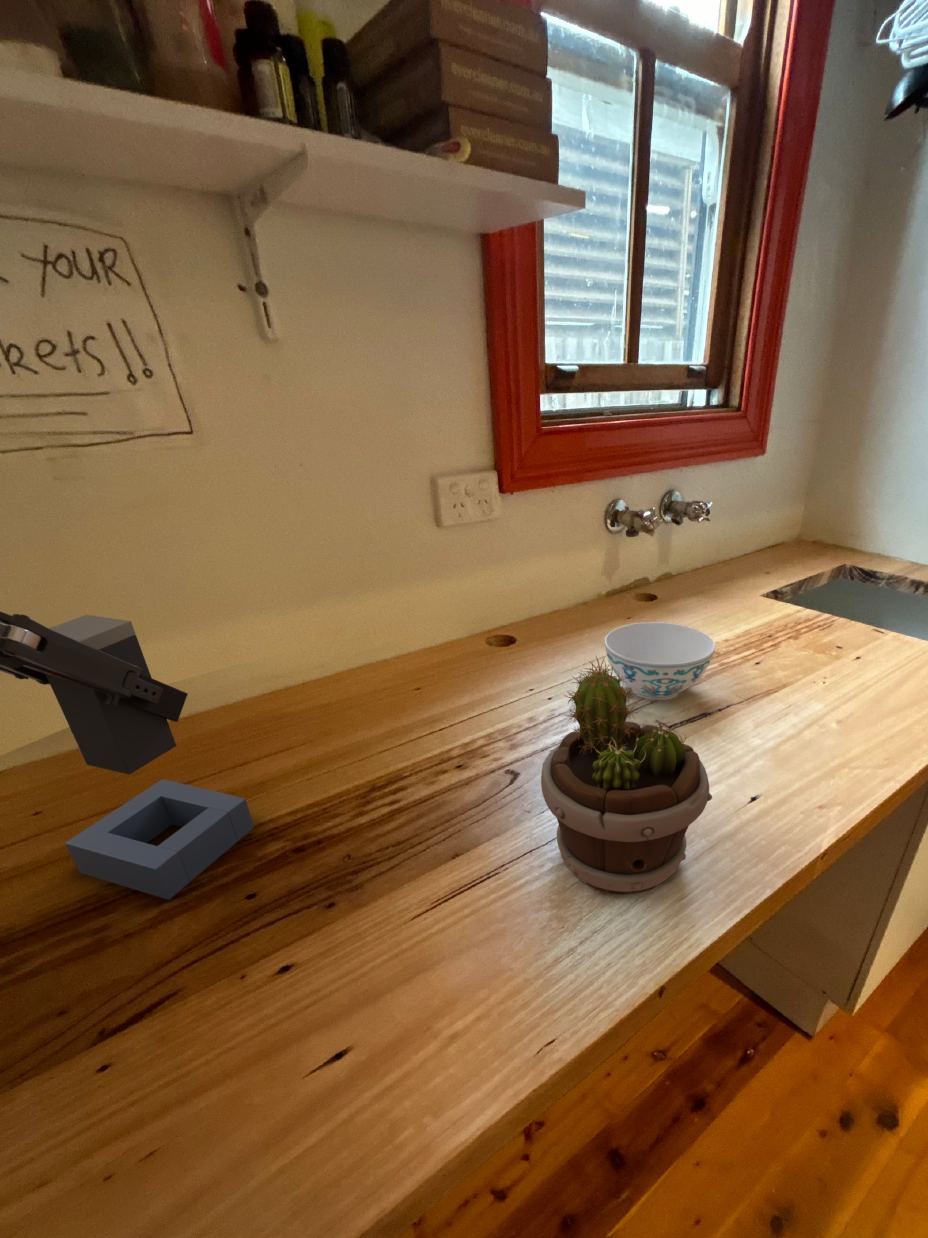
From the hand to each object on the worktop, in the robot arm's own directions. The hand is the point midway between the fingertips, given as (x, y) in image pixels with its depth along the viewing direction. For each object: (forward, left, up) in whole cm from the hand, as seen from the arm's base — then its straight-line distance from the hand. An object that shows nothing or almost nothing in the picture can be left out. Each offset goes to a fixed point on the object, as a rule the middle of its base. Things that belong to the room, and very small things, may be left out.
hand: (154, 702), depth 58 cm
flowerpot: (+40, +16, -15) cm, 45 cm away
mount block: (+1, -4, -15) cm, 15 cm away
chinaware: (+30, +51, -15) cm, 61 cm away
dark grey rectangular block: (+1, -4, -3) cm, 5 cm away
